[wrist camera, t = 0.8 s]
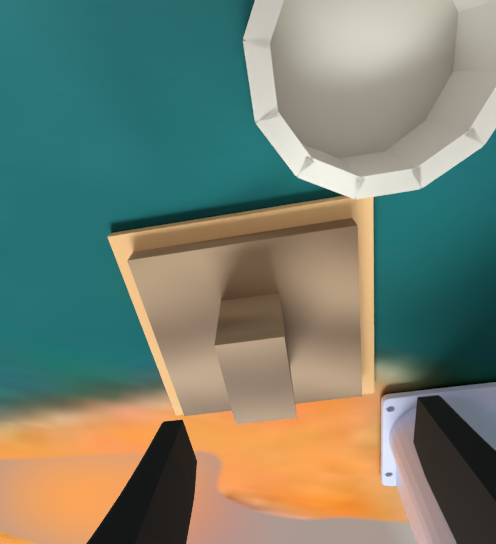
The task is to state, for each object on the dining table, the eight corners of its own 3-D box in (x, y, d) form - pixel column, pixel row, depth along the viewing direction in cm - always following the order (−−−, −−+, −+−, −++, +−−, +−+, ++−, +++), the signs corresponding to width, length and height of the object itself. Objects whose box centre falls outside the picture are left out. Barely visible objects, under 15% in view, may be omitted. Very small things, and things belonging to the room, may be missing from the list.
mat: (372, 387, 23) (374, 393, 23) (177, 409, 24) (176, 415, 24) (370, 191, 17) (373, 194, 17) (111, 232, 18) (107, 236, 18)
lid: (357, 383, 22) (380, 449, 18) (186, 403, 23) (173, 469, 19) (352, 217, 17) (382, 259, 13) (133, 251, 18) (100, 299, 14)
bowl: (457, 153, 16) (514, 174, 13) (265, 185, 17) (268, 213, 13) (484, -112, 12) (578, -190, 9) (229, -54, 13) (220, -104, 9)
